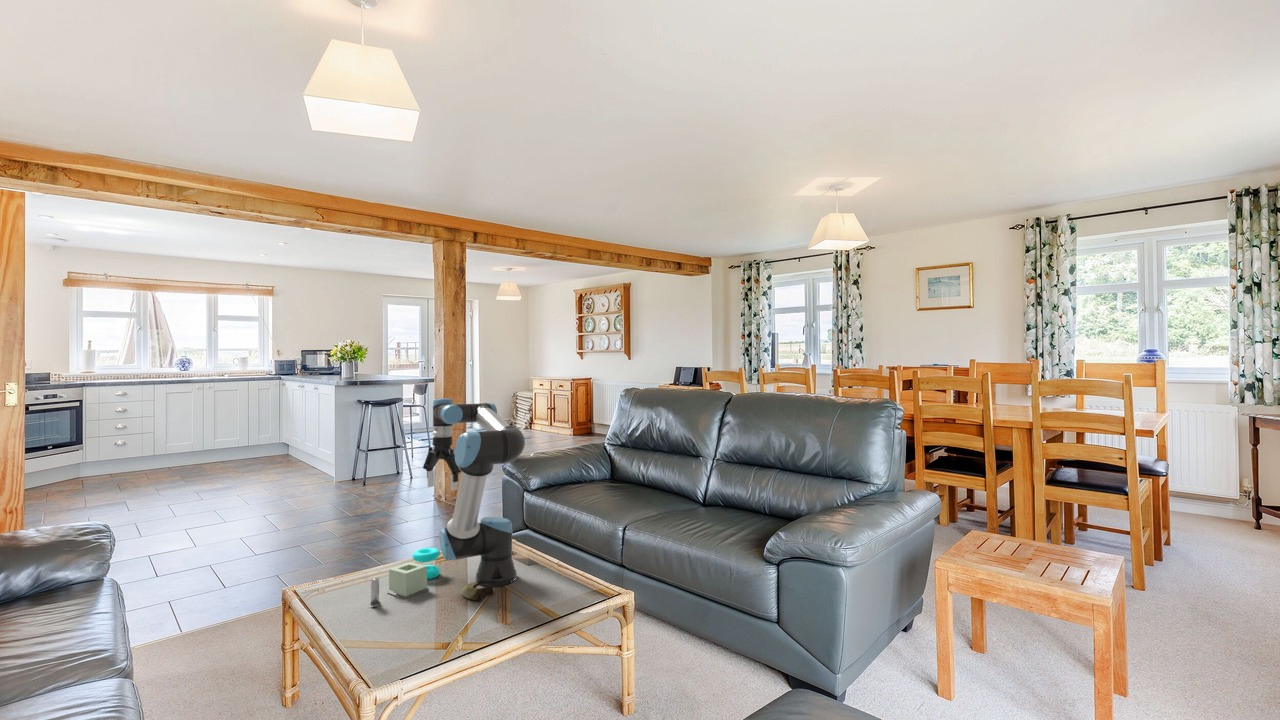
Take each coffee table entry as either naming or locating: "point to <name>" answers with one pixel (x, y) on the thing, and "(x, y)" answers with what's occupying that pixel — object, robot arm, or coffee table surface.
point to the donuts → (428, 560)
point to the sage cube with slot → (408, 578)
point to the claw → (476, 592)
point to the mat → (412, 594)
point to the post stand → (375, 592)
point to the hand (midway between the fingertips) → (442, 488)
